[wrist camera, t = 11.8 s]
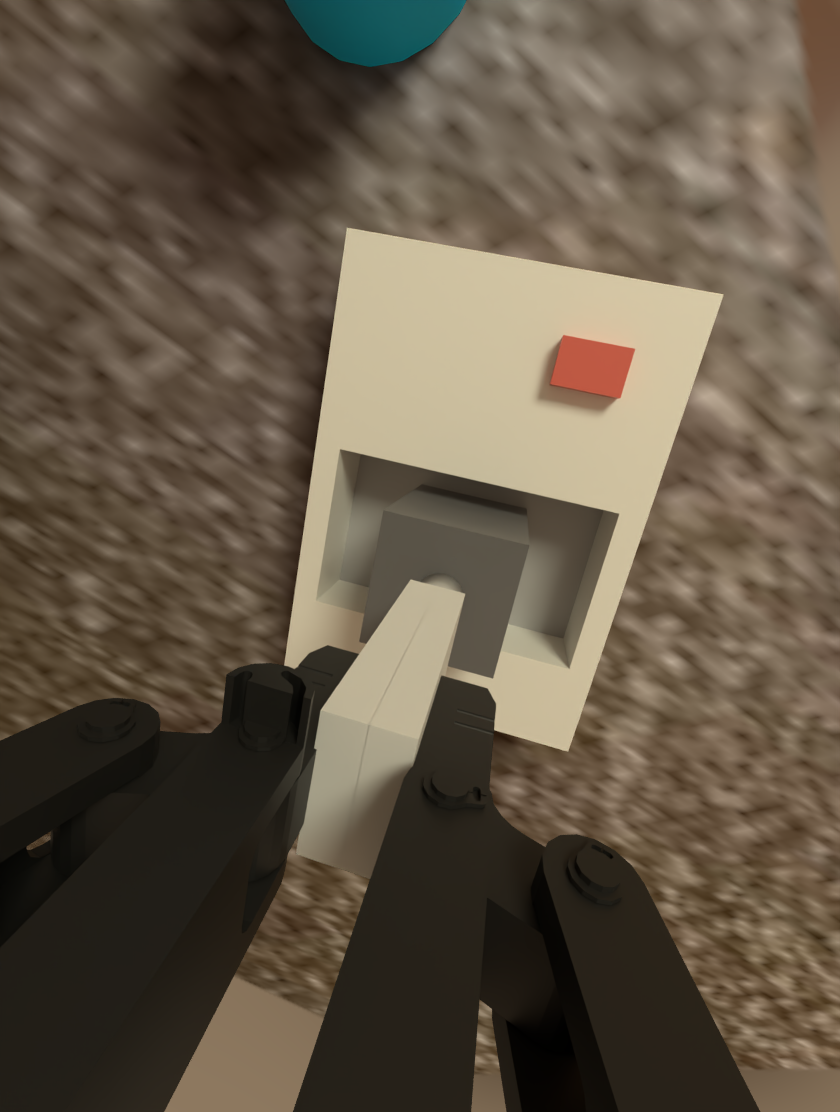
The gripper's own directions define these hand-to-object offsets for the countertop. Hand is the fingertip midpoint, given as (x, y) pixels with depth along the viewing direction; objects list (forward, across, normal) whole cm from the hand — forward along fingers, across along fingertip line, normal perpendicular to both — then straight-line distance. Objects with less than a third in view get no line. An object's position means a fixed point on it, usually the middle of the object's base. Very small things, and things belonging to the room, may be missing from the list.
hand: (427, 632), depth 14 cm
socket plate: (+11, 0, +2) cm, 11 cm away
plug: (+10, 0, 0) cm, 10 cm away
